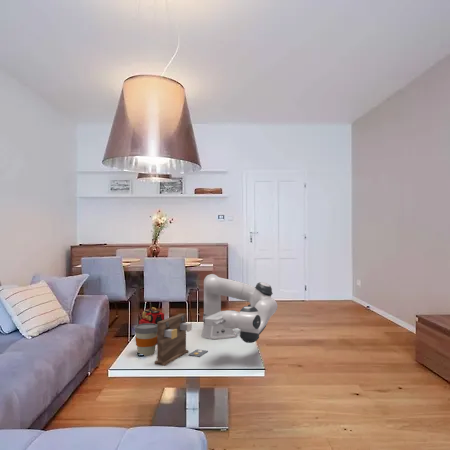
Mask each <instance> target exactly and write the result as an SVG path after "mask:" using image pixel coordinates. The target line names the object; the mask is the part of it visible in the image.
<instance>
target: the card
mask: <svg viewBox="0 0 450 450" xmlns="http://www.w3.org/2000/svg"><path fill="white" fill-rule="evenodd" d="M207 353H209V350H204V349H198V348H197V349H195V350H194V351H192V352H189V353H187V356H189V357H194V358H195V357H196V358H201V357H203V356H205V354H207Z"/></svg>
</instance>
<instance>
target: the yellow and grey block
mask: <svg viewBox="0 0 450 450" xmlns="http://www.w3.org/2000/svg"><path fill="white" fill-rule="evenodd" d="M164 337H170V338H171V339H174V338H176V337H177V329H174V330H172V329H164Z"/></svg>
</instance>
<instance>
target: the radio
mask: <svg viewBox="0 0 450 450" xmlns="http://www.w3.org/2000/svg"><path fill="white" fill-rule="evenodd" d="M141 315H142V316H141V317H142V318H141V319H139V321H138V325H139V324H145V323H153V324H157V322H159V321H162V320H165V313H164V312H160V310H157V308H156V307H153V306H152V307H151V308H150V309H145V310H144V311H142V314H141Z"/></svg>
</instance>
